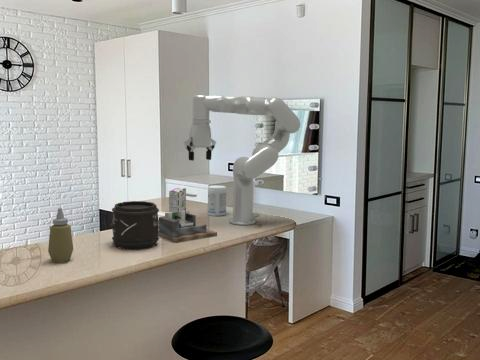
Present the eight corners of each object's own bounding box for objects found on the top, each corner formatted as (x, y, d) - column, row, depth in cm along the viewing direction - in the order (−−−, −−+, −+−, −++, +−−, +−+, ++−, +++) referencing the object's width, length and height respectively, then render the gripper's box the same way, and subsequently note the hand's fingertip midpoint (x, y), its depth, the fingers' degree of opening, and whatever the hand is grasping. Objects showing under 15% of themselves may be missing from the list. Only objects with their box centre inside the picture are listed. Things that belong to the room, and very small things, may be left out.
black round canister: (107, 240, 188) (107, 201, 186) (152, 237, 195) (152, 199, 193) (113, 252, 172) (113, 209, 170) (162, 248, 179) (162, 207, 177)
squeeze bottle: (52, 256, 164) (51, 206, 162) (76, 256, 165) (75, 206, 163) (45, 263, 156) (43, 210, 154) (70, 264, 157) (69, 210, 155)
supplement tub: (224, 212, 251) (224, 185, 249) (227, 216, 242) (228, 187, 240) (206, 212, 249) (206, 185, 247) (208, 216, 239) (209, 187, 238)
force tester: (195, 228, 213) (195, 208, 212) (217, 235, 201) (217, 214, 199) (154, 234, 199) (154, 213, 198) (174, 242, 187) (175, 220, 186)
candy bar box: (176, 221, 226) (176, 187, 224) (186, 222, 225) (186, 188, 223) (168, 226, 216) (168, 190, 213) (178, 227, 215) (179, 191, 212)
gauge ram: (183, 227, 206) (183, 211, 205) (195, 231, 199) (195, 215, 198) (169, 229, 201) (169, 213, 201) (180, 233, 195) (181, 217, 194)
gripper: (211, 122, 223) (210, 158, 226) (180, 122, 212) (179, 159, 215) (220, 123, 218) (219, 160, 220) (189, 122, 207) (188, 161, 209)
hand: (200, 159), depth 217 cm, fingers open, 9 cm apart
